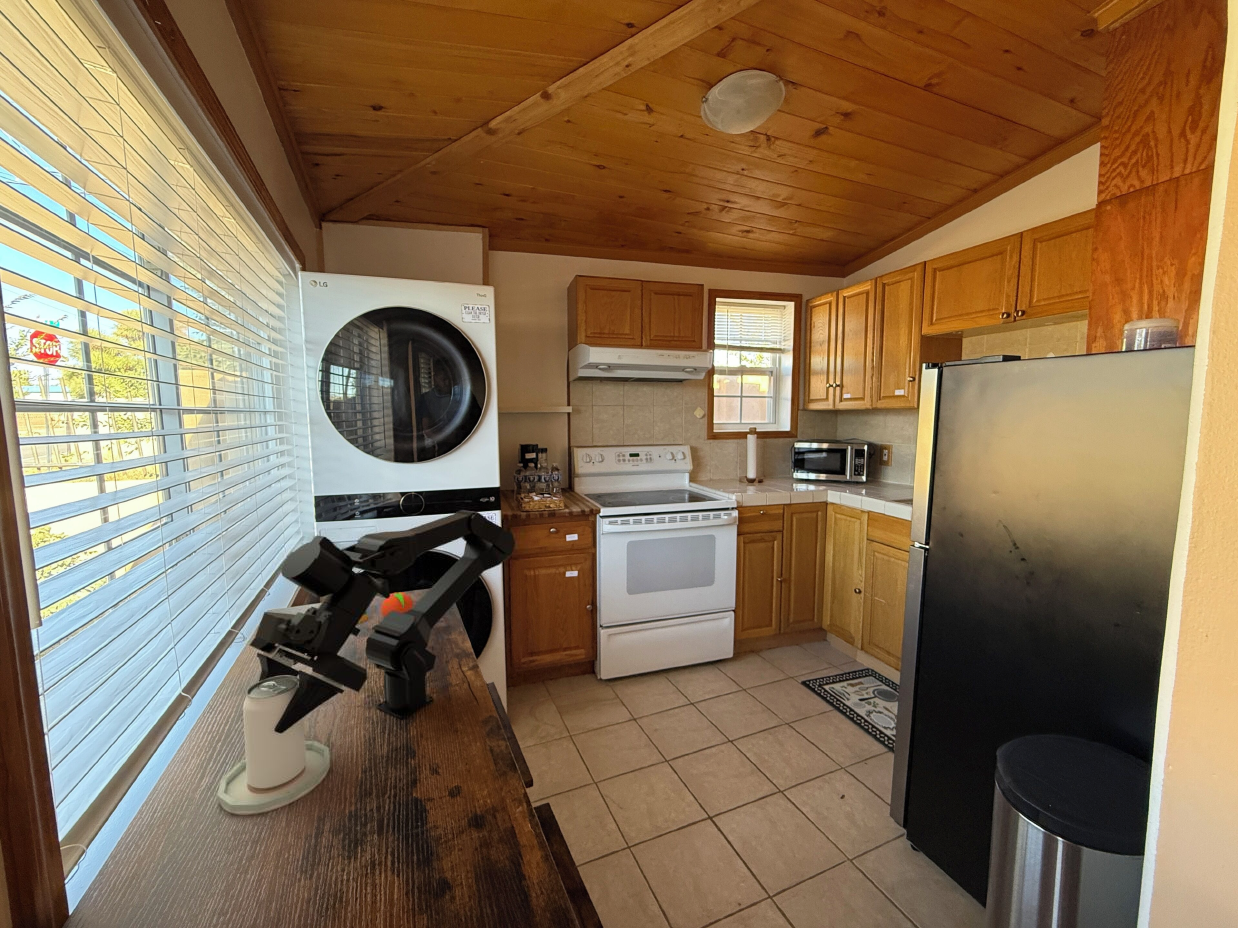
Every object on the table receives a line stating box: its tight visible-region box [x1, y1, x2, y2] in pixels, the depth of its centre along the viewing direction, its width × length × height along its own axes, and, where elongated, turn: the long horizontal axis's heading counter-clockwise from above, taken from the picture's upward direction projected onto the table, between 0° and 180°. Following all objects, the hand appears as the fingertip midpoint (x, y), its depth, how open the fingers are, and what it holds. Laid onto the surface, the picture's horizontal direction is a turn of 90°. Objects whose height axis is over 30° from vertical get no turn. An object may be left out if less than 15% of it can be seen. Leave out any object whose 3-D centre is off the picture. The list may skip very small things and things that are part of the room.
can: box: [242, 675, 306, 789], centre depth 66 cm, size 6×6×12 cm
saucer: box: [216, 740, 331, 816], centre depth 67 cm, size 12×12×1 cm
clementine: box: [380, 591, 415, 618], centre depth 118 cm, size 8×7×7 cm
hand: (263, 724), depth 65 cm, fingers closed on can, 6 cm apart
